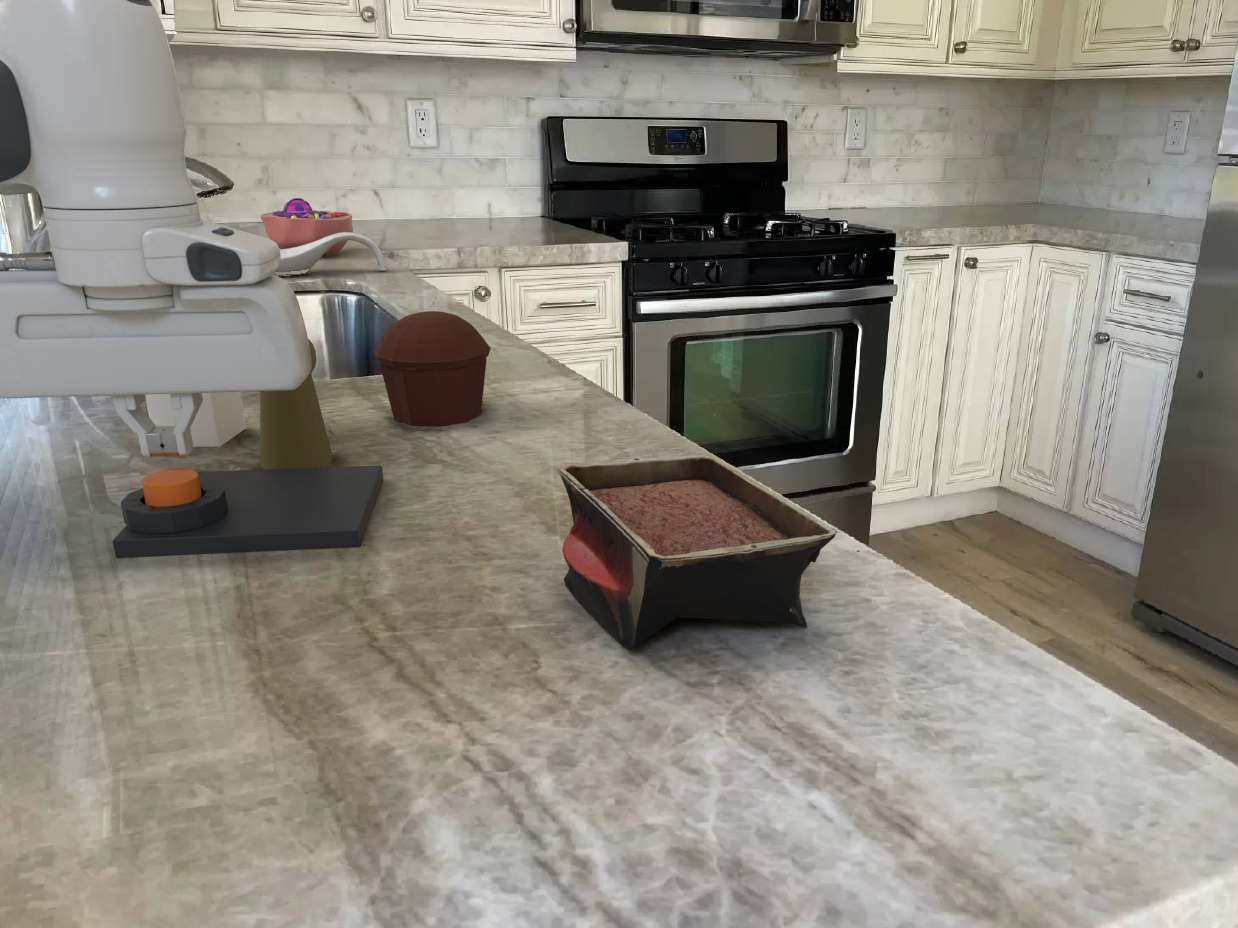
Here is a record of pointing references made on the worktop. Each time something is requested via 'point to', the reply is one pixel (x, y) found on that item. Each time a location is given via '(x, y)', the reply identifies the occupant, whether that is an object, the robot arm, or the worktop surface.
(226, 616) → the worktop surface
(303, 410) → the cork
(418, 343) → the muffin
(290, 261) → the spoon rest
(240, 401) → the milk
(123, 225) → the robot arm
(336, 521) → the scale
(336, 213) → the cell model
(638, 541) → the baking dish
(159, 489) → the button
